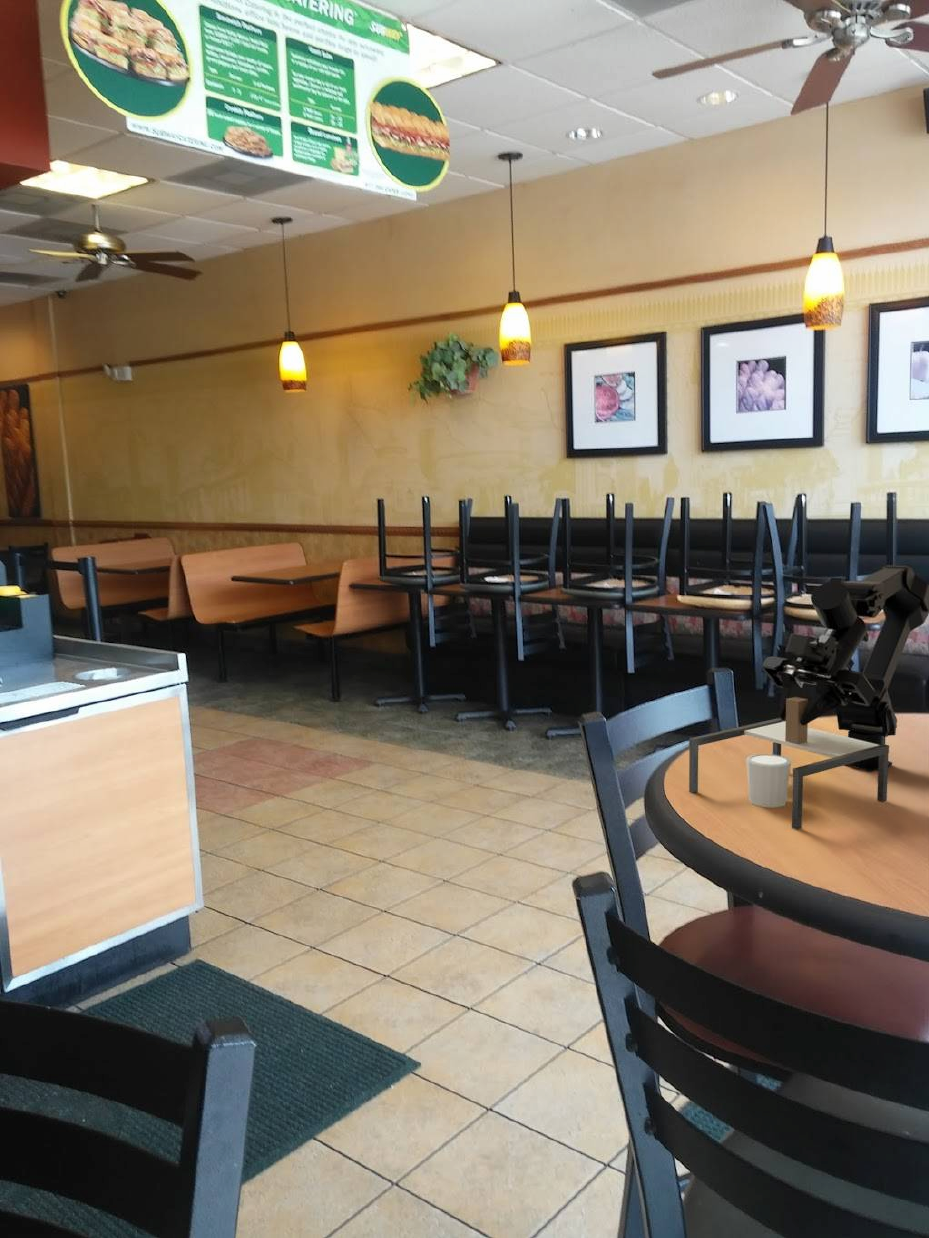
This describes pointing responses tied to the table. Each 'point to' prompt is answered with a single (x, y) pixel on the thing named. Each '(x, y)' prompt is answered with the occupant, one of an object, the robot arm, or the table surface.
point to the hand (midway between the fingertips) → (790, 721)
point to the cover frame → (797, 772)
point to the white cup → (768, 779)
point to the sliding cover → (806, 734)
